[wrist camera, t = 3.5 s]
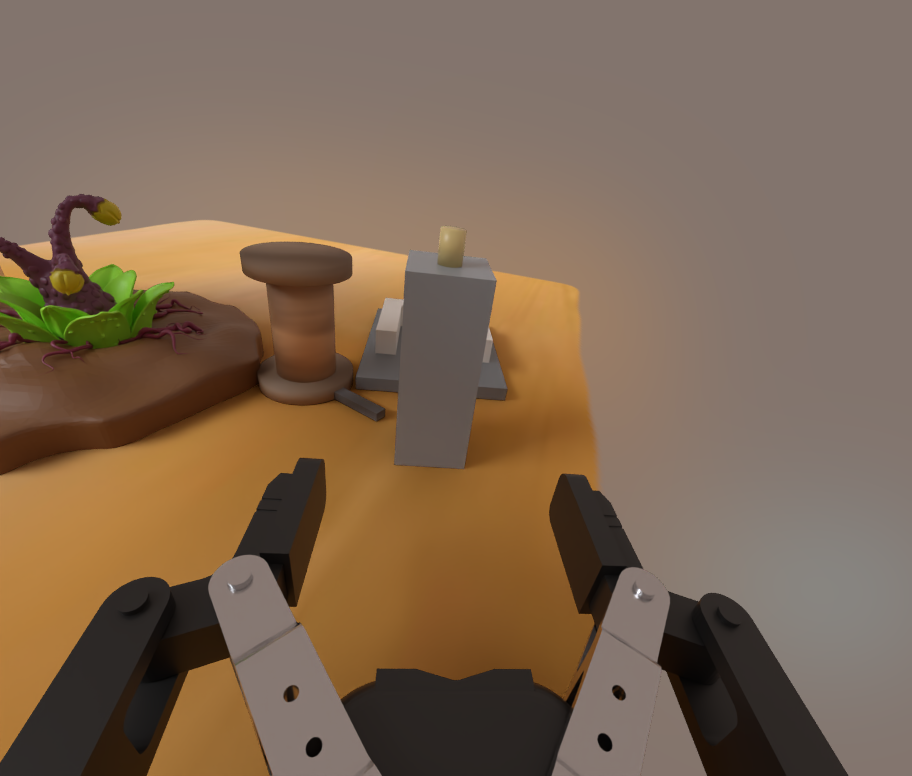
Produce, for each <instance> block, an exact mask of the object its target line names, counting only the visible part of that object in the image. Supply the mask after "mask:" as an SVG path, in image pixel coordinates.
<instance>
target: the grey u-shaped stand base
mask: <svg viewBox="0 0 912 776" xmlns="http://www.w3.org/2000/svg"><path fill="white" fill-rule="evenodd" d="M403 302H404V300H402V299H392V298H385V301H384V305H383V308H382V309H379V308H378V310H377V314H376V317H375V320H374V323H373V326H372V329H371V332H370V335H369V338H368V341H367V344H366V347H365V350H364V353H363V356H362V359H361V362H360V365H359V368H358V371H357V375H356V389H363V390H377V391H390V392H398V390H399V372H400V355H401V337H402V320H403ZM506 393H507V386H506V383H505V379H504V376H503V373H502V370H501V366H500V363H499V360H498V357H497V353H496V350H495V347H494V343H493V339H492V336H491V332H490V329H489V327H488V333H487V339H486V345H485V350H484V356H483V362H482V368H481V374H480V379H479V385H478V391H477V397H476V398H481V399H494V400H505V398H506Z"/></svg>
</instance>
